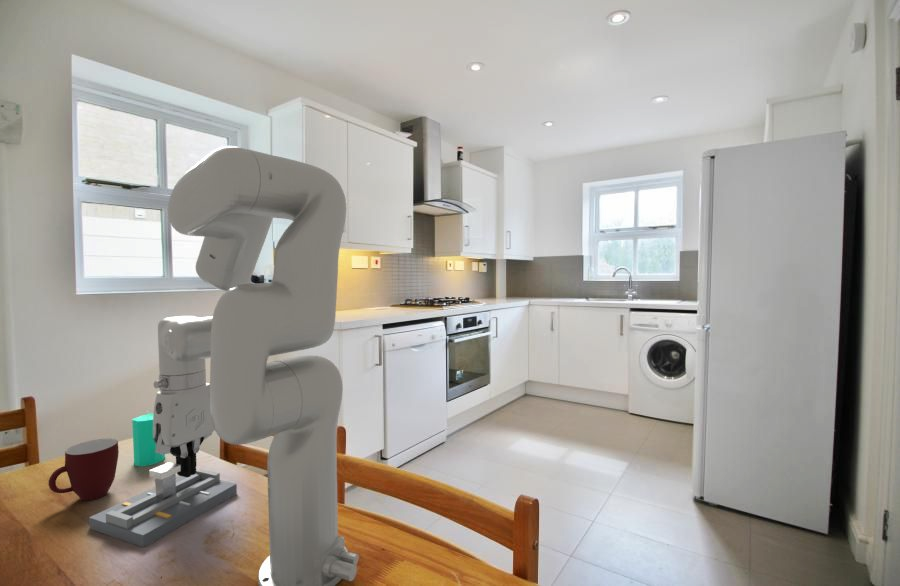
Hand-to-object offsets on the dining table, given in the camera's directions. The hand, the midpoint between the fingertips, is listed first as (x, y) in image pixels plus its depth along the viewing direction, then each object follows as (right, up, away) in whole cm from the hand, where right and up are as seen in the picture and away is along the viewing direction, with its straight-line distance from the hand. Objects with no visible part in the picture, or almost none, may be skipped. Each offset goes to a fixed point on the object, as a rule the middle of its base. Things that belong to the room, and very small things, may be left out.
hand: (186, 474), depth 83 cm
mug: (-20, -5, +1) cm, 21 cm away
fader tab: (-2, -3, -4) cm, 5 cm away
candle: (-20, -5, +18) cm, 27 cm away
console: (-1, -5, -3) cm, 6 cm away
